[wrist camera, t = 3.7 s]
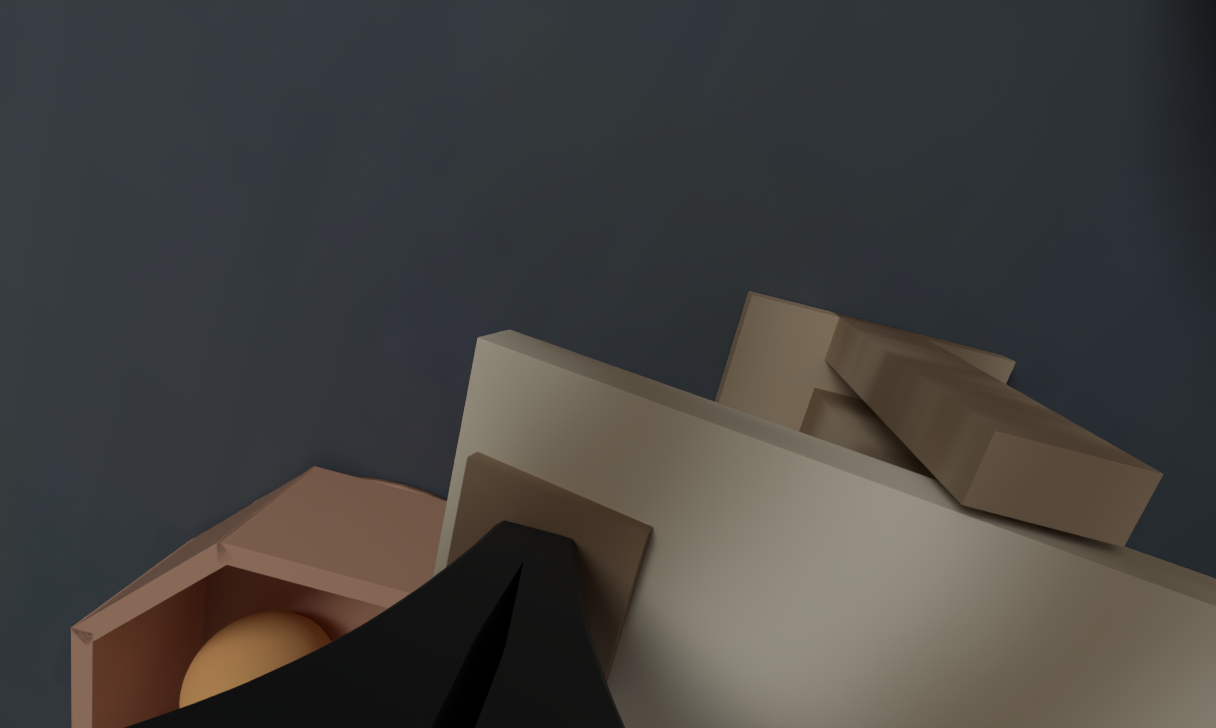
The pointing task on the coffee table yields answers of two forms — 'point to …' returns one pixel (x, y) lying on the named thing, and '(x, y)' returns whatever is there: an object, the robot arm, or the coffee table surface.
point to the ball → (249, 652)
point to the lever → (811, 569)
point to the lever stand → (931, 417)
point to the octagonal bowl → (254, 586)
